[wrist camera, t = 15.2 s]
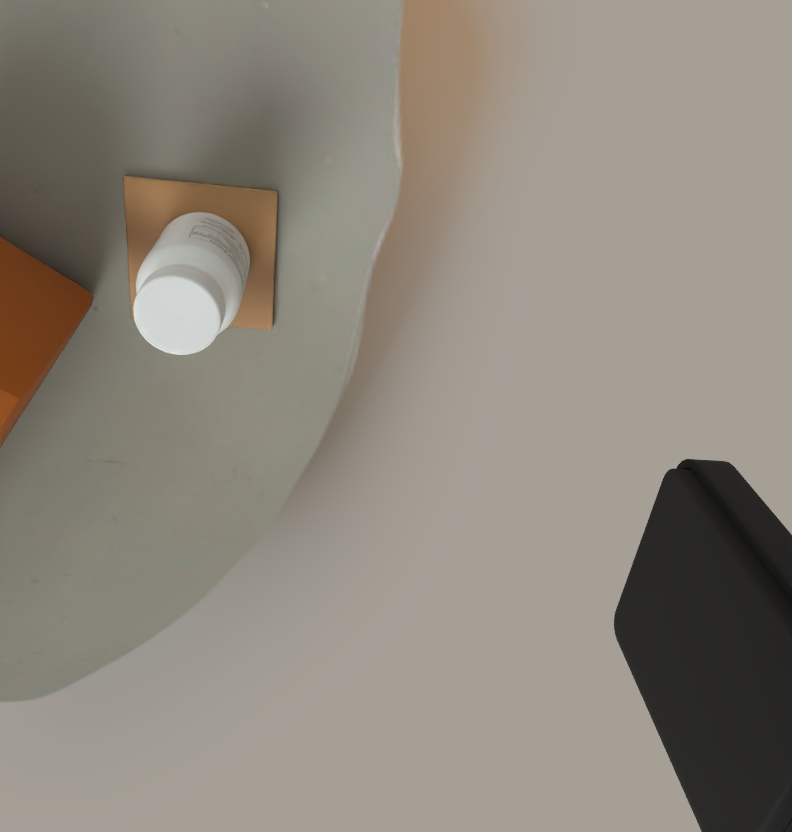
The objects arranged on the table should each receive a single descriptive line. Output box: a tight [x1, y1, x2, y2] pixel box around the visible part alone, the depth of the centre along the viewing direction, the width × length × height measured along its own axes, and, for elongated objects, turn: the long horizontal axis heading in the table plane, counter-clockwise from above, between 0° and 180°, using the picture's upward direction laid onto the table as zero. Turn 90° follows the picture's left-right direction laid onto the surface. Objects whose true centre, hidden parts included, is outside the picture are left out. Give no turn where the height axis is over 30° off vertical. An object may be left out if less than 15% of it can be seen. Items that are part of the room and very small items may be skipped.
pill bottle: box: [133, 212, 250, 355], centre depth 33 cm, size 4×4×8 cm
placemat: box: [123, 176, 278, 329], centre depth 36 cm, size 7×7×1 cm
